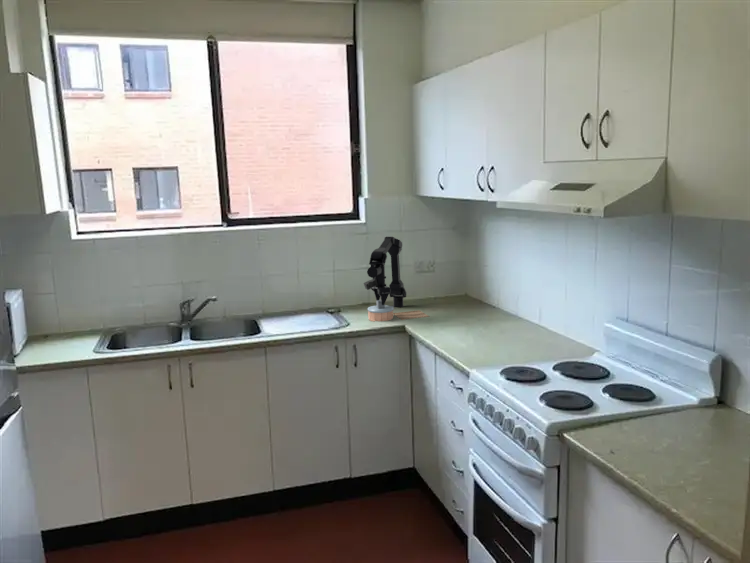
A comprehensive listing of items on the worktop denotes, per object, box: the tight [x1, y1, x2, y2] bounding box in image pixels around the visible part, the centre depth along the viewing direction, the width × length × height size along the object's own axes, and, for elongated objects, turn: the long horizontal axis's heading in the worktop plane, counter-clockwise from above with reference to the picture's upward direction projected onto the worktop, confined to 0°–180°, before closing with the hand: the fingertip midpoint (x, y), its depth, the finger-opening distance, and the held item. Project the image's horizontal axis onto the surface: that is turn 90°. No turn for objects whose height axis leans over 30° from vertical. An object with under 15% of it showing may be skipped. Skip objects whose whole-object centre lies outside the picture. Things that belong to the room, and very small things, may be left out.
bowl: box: [367, 310, 394, 322], centre depth 336 cm, size 13×13×5 cm
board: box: [393, 309, 430, 321], centre depth 341 cm, size 16×16×1 cm
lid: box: [367, 299, 395, 313], centre depth 335 cm, size 14×14×5 cm
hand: (380, 303), depth 334 cm, fingers open, 9 cm apart
